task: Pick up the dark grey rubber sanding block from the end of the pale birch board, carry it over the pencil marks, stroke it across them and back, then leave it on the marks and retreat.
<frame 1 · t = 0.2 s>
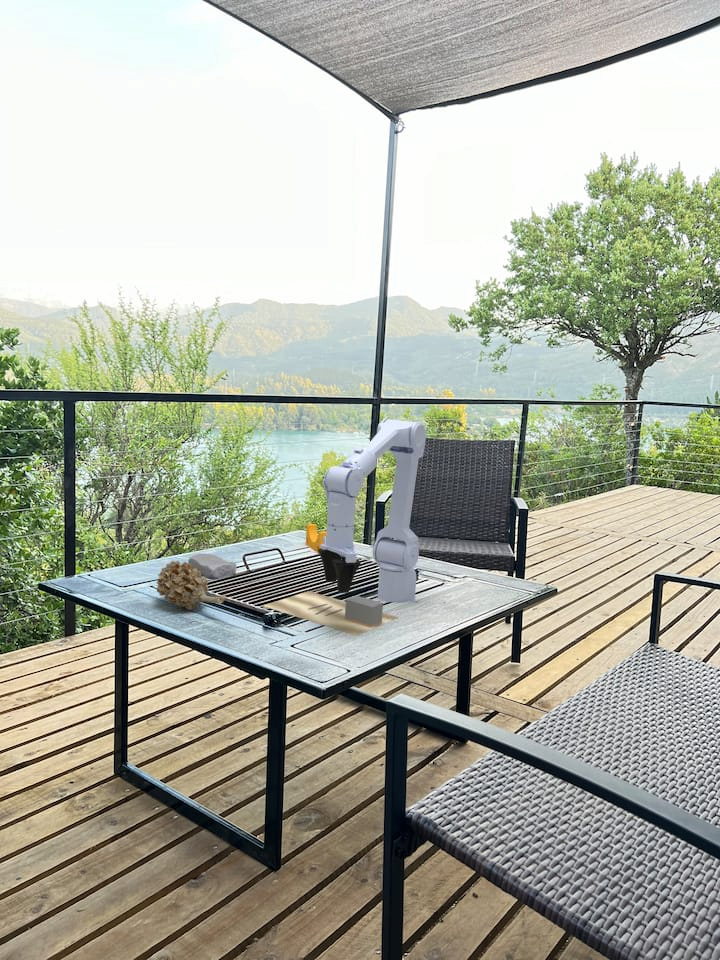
hand: (337, 586, 166), 10 cm above the table, tool pointing down, fingers open, 7 cm apart
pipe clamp: (319, 550, 236), on the table
sanding block: (363, 621, 170), point 1 cm above the table, touching board
dried flower head: (193, 611, 175), on the table
stone block: (214, 573, 206), on the table
board: (330, 617, 175), on the table
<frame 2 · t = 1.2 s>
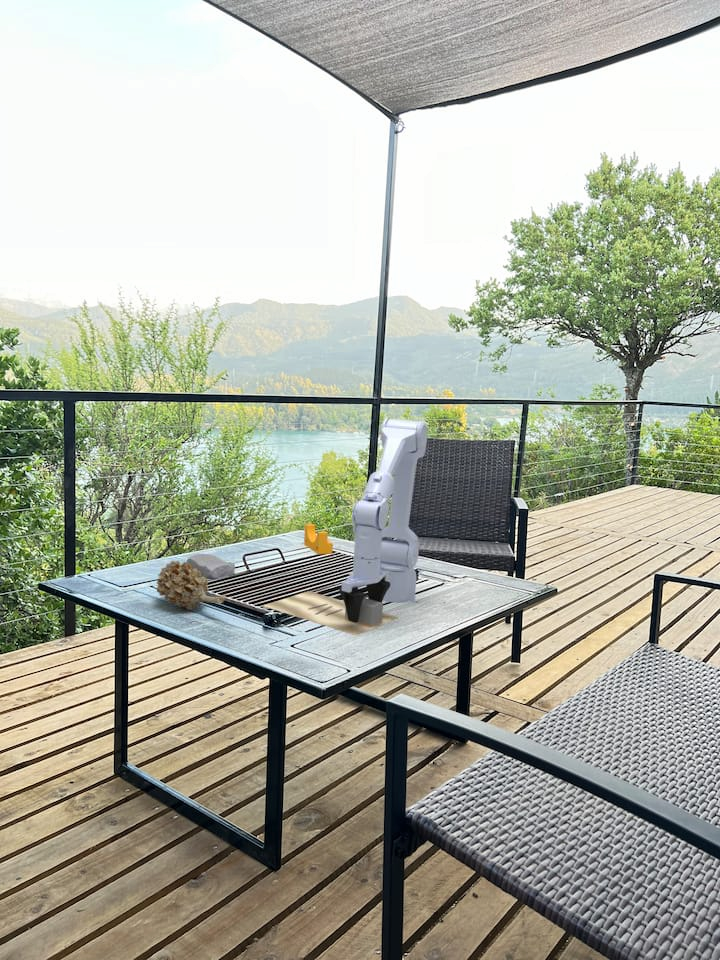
hand: (363, 617, 169), 2 cm above the table, tool pointing down, fingers open, 7 cm apart
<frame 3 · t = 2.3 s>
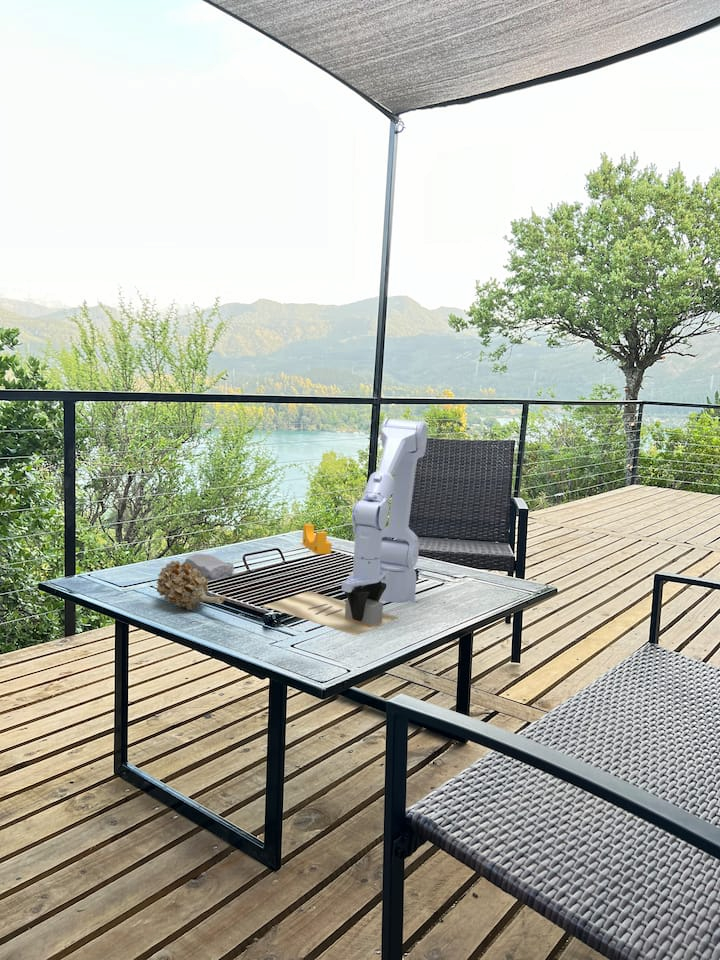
hand: (363, 617, 170), 2 cm above the table, tool pointing down, fingers closed on sanding block, 4 cm apart
sanding block: (363, 621, 170), point 1 cm above the table, touching board, gripper
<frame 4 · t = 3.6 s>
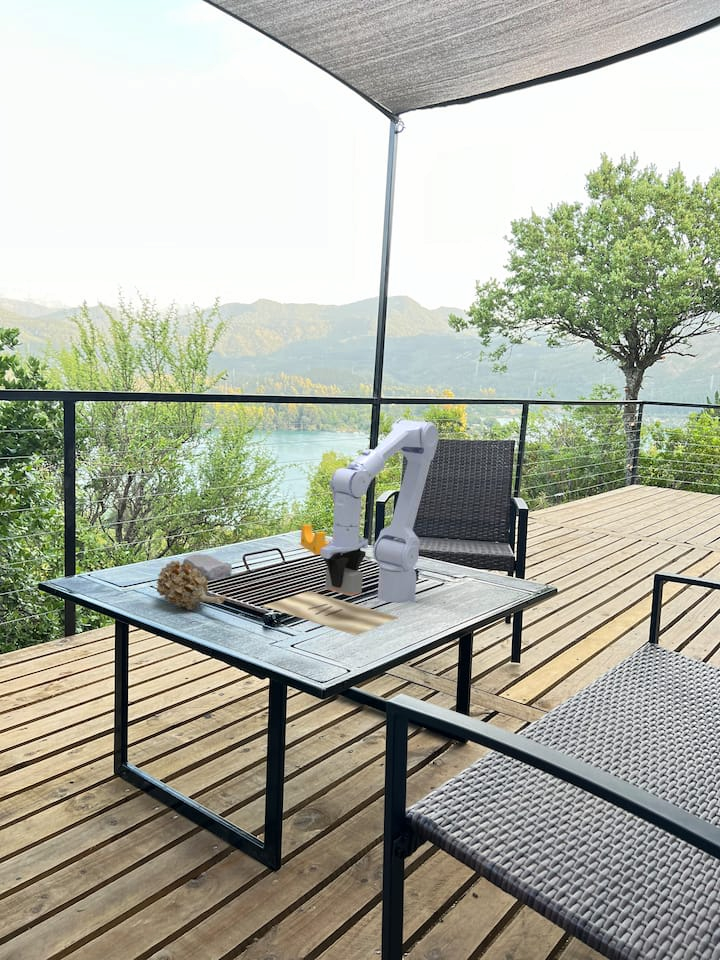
hand: (342, 584, 172), 8 cm above the table, tool pointing down, fingers closed on sanding block, 4 cm apart
sanding block: (343, 590, 172), point 7 cm above the table, touching gripper
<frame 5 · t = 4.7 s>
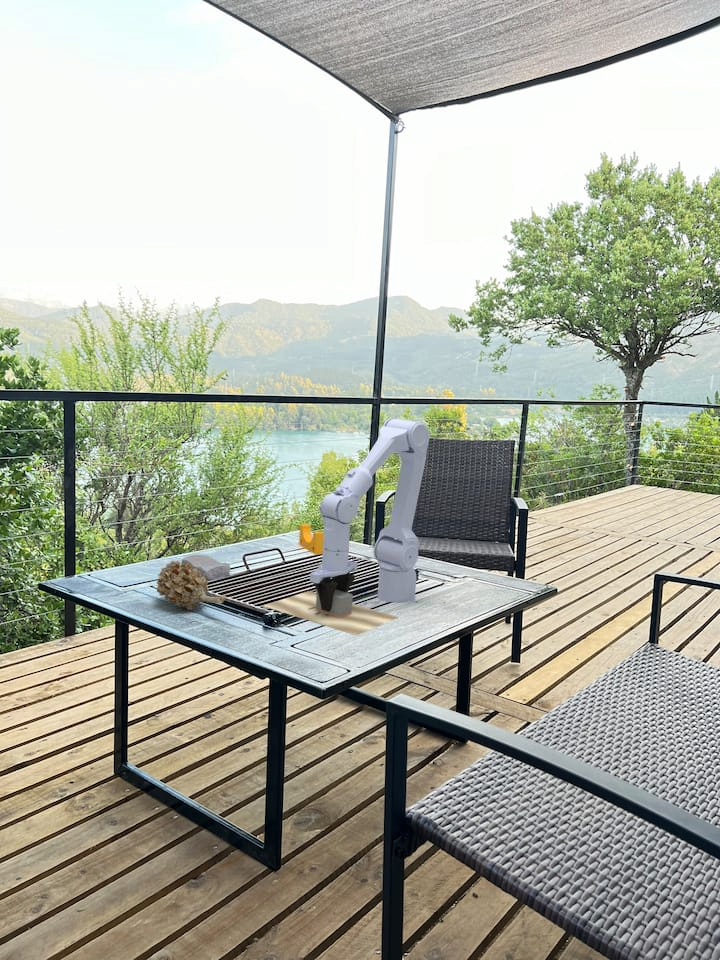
hand: (332, 607, 174), 2 cm above the table, tool pointing down, fingers closed on sanding block, 4 cm apart
sanding block: (333, 612, 174), point 2 cm above the table, touching gripper
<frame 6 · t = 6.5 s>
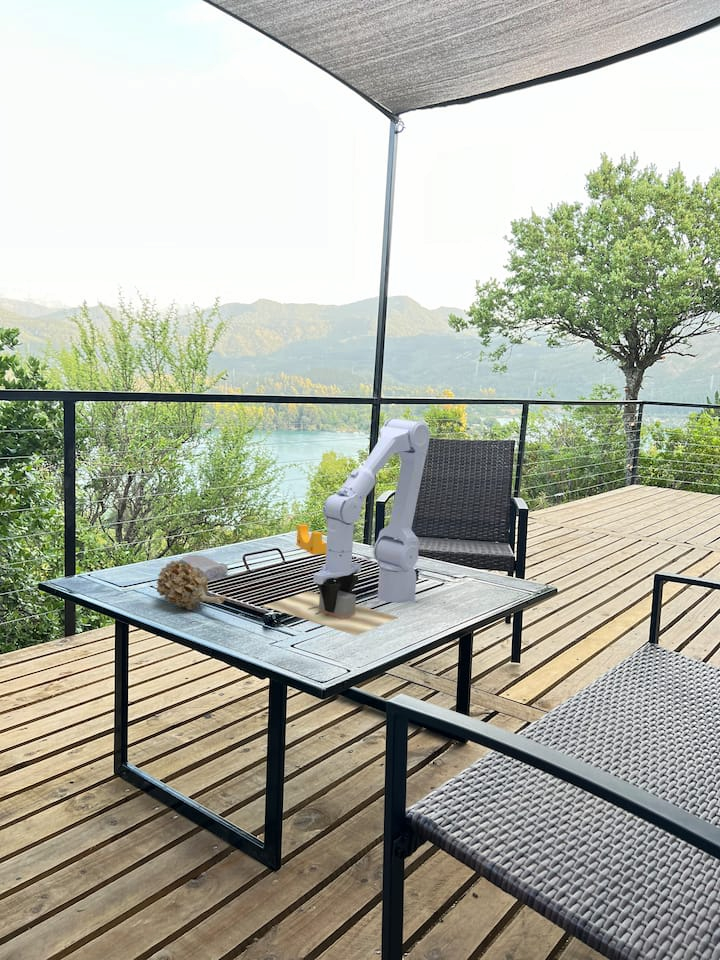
hand: (335, 608, 174), 2 cm above the table, tool pointing down, fingers closed on sanding block, 4 cm apart
sanding block: (336, 613, 174), point 2 cm above the table, touching gripper
when the fingers open (2 cm above the table, at t = 7.6 s): sanding block stays where it is, resting on board.
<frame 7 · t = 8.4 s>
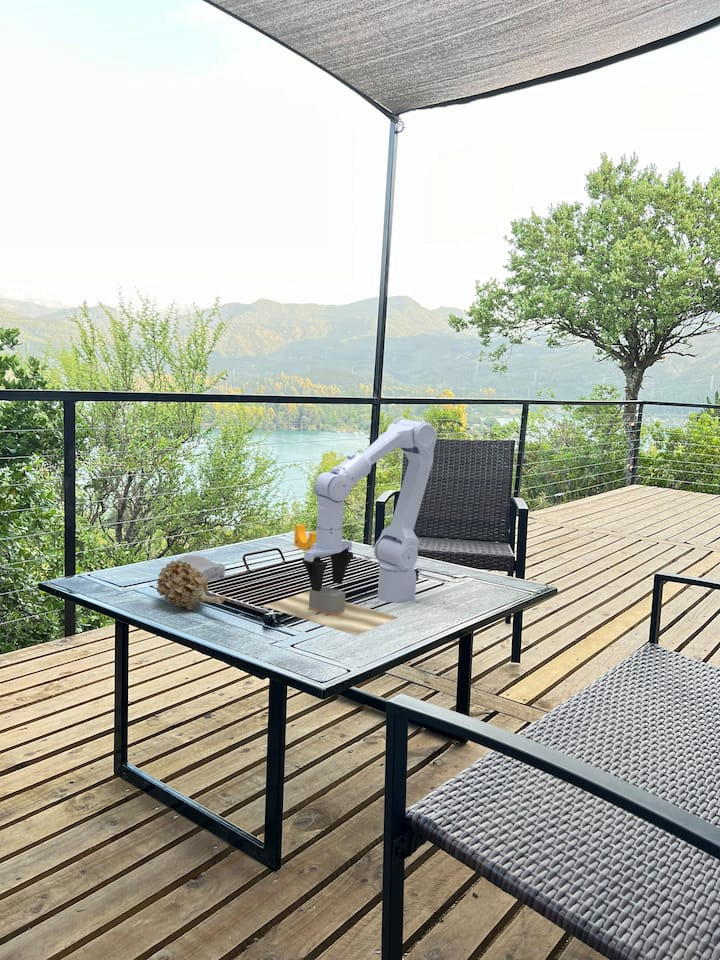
hand: (326, 586, 175), 7 cm above the table, tool pointing down, fingers open, 7 cm apart
sanding block: (326, 610, 175), point 2 cm above the table, touching board
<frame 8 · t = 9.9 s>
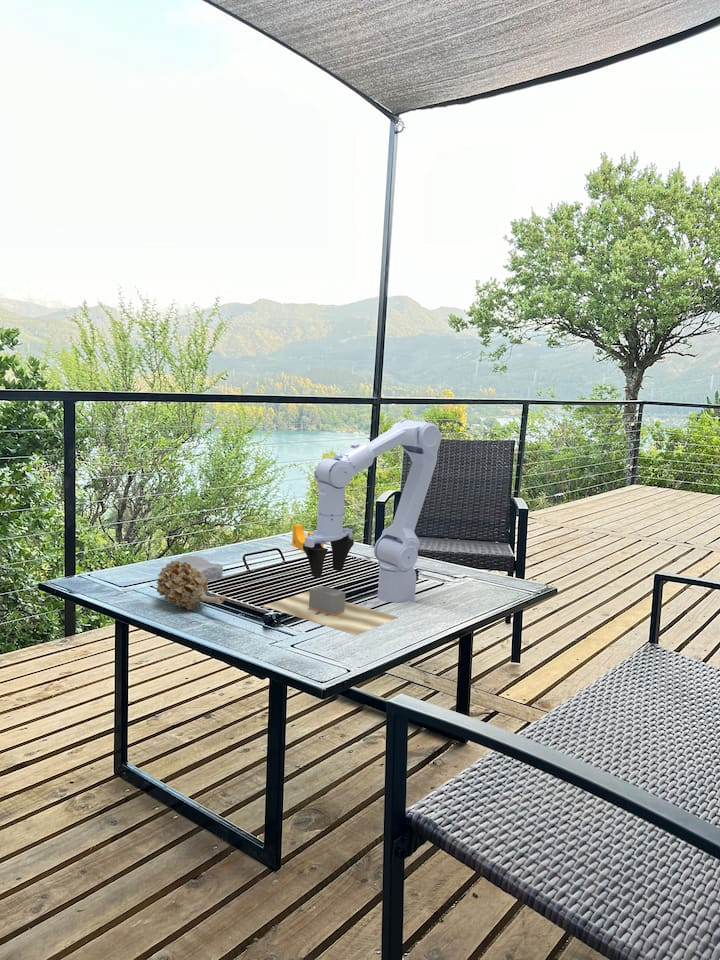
hand: (327, 573, 174), 10 cm above the table, tool pointing down, fingers open, 7 cm apart
at the end: sanding block inside the target area (0.4 cm from its centre), point 1.5 cm above the table; sanding block moved 10.1 cm from its start; the gripper is holding nothing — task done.
